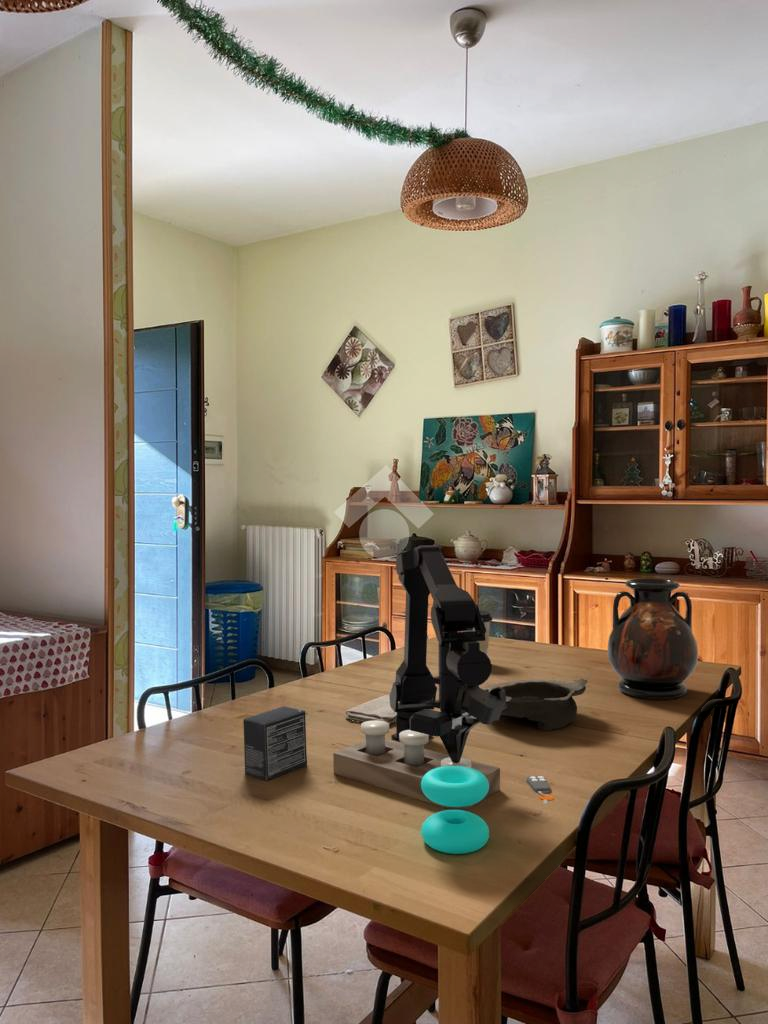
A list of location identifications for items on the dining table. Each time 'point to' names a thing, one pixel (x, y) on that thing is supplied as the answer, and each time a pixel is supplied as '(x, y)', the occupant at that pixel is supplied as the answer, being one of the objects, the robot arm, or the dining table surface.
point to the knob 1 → (375, 736)
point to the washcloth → (373, 711)
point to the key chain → (540, 787)
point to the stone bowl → (542, 700)
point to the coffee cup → (486, 619)
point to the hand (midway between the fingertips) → (455, 762)
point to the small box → (275, 742)
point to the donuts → (455, 826)
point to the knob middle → (413, 747)
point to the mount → (400, 770)
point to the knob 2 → (463, 762)
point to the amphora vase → (652, 641)
